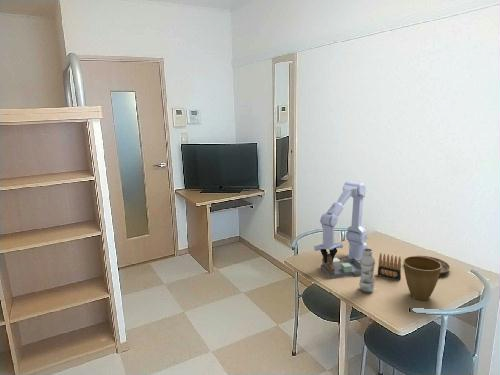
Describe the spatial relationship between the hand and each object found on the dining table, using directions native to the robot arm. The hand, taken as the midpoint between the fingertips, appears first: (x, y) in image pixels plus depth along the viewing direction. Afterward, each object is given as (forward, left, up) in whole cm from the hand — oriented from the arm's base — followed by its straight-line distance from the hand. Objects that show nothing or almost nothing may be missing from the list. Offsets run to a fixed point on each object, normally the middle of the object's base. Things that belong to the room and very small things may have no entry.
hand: (328, 262), depth 177 cm
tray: (-14, 0, -6) cm, 15 cm away
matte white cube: (-5, -4, -4) cm, 8 cm away
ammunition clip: (-27, +12, -6) cm, 30 cm away
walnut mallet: (0, 0, -4) cm, 4 cm away
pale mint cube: (-8, +3, -4) cm, 10 cm away
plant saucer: (-50, +9, -6) cm, 51 cm away
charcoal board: (-5, 0, -6) cm, 7 cm away
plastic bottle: (-10, +21, -6) cm, 24 cm away
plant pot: (-30, +31, -6) cm, 43 cm away
